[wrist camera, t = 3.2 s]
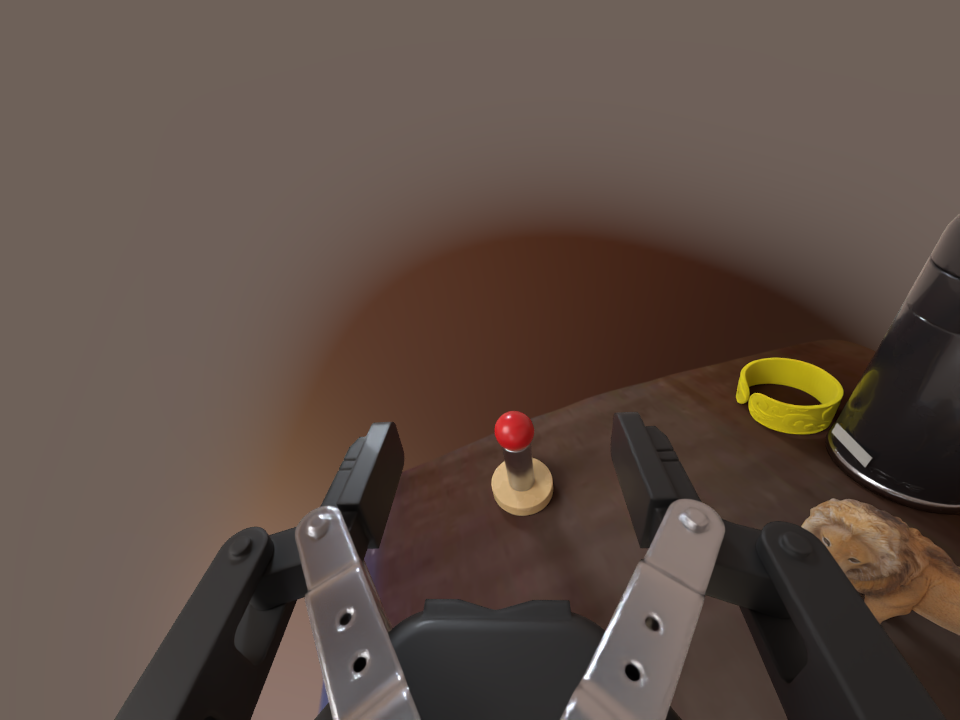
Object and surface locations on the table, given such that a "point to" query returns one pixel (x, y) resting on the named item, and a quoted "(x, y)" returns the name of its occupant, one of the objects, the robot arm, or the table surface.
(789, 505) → the table surface
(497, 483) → the red ball post
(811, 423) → the bracelet
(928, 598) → the lion figurine
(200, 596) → the robot arm
